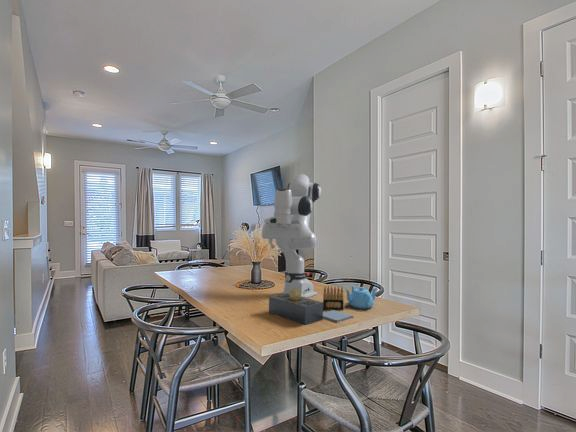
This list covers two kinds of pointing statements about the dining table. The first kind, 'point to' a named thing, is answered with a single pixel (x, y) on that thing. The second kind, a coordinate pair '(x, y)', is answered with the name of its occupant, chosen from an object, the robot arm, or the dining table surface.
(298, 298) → the brass plug
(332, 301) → the ammunition clip
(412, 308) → the dining table surface
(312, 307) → the dark grey socket block
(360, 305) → the teapot
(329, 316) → the slate mat
